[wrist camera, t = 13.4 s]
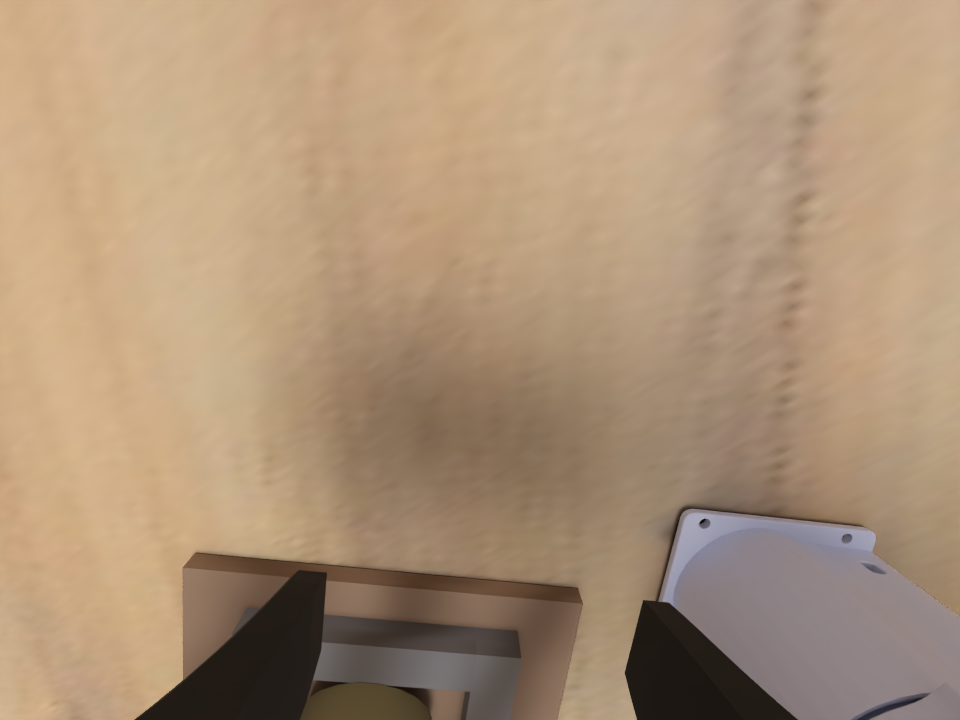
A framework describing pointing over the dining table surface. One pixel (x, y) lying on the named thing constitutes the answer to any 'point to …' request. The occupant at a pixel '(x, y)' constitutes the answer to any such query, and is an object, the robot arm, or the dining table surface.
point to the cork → (364, 704)
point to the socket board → (395, 601)
